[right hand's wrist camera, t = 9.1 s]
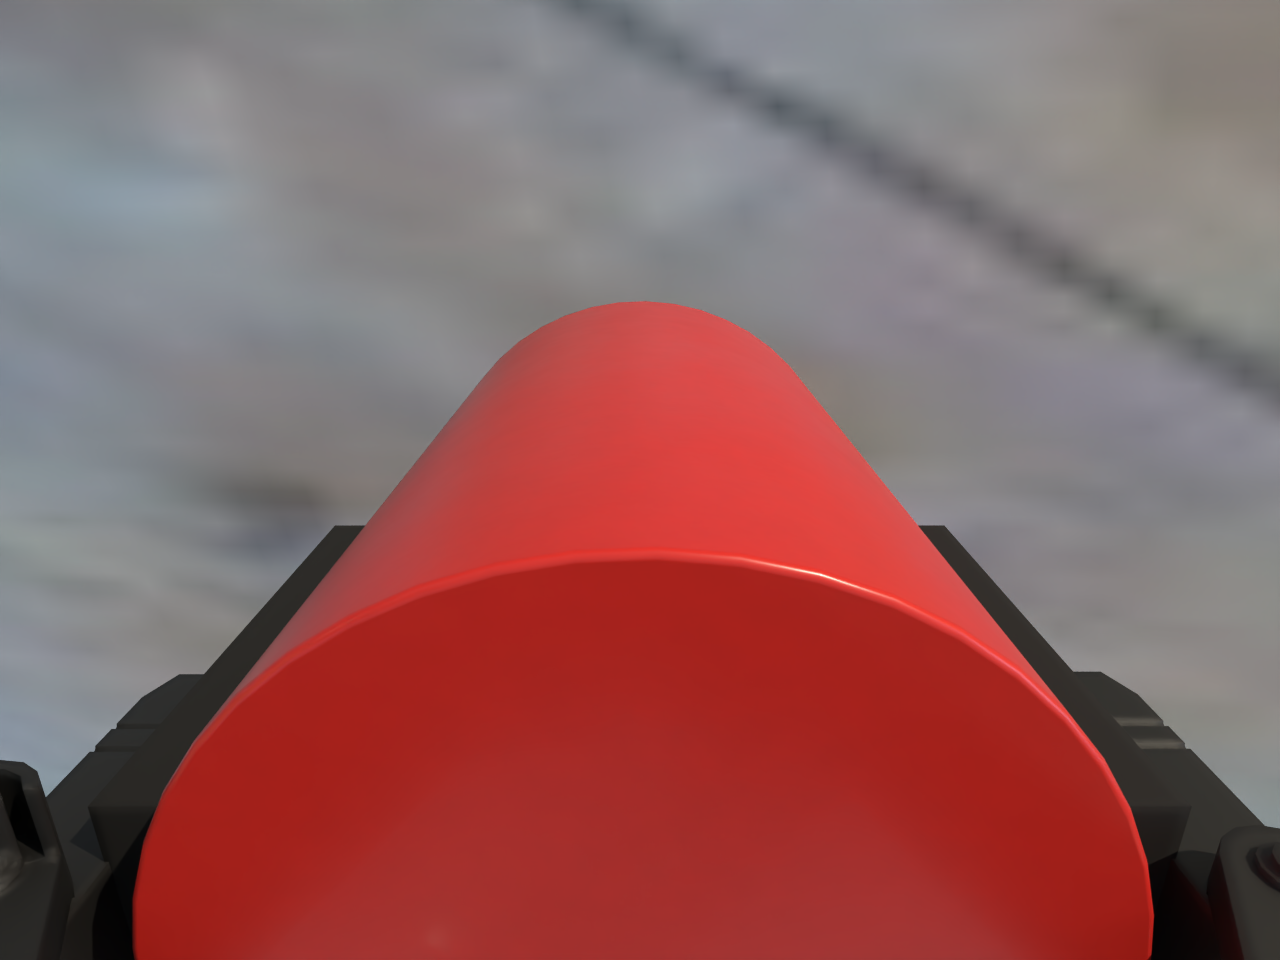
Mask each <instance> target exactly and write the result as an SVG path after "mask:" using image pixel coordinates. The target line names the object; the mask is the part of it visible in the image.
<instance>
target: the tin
mask: <svg viewBox="0 0 1280 960" xmlns="http://www.w3.org/2000/svg"><path fill="white" fill-rule="evenodd" d="M1153 923H1154V912H1153V904H1152V896H1151V887H1150V879H1149V870H1148V863H1147V859H1146V855H1145V852H1144V849H1143V846H1142V843H1141V839H1140V836H1139V833H1138V830H1137V827H1136V824H1135V820H1134V817H1133V814H1132V811H1131V808H1130V806H1129V804H1128V802H1127V800H1126V799H1125V797H1124V795H1123V793H1122V791H1121V789H1120V787H1119V785H1118V783H1117V782H1116V780H1115V778H1114V776H1113V774H1112V772H1111V770H1110V768H1109V767H1108V765H1107V763H1106V761H1105V759H1104V757H1103V756H1102V755H1101V754H1100V752H1099V751H1098V750H1097V748H1096V747H1095V746H1094V745H1093V743H1092V742H1091V741H1090V739H1089V738H1088V737H1087V736H1086V734H1085V733H1084V732H1083V730H1082V729H1081V728H1080V727H1079V725H1078V724H1077V723H1076V721H1075V720H1074V719H1073V718H1072V716H1071V715H1070V714H1069V712H1068V711H1067V710H1066V709H1065V707H1064V706H1063V705H1062V704H1061V702H1060V701H1059V700H1058V699H1057V697H1056V696H1055V695H1054V694H1053V693H1052V691H1051V690H1050V689H1049V688H1048V686H1047V685H1046V684H1045V683H1044V681H1043V680H1042V679H1041V678H1040V676H1039V675H1038V674H1037V673H1036V671H1035V670H1034V669H1033V668H1032V666H1031V665H1030V664H1029V663H1028V662H1027V660H1026V659H1025V658H1024V657H1023V655H1022V654H1021V653H1020V652H1019V650H1018V649H1017V648H1016V647H1015V645H1014V644H1013V643H1012V642H1011V640H1010V639H1009V638H1008V637H1007V635H1006V634H1005V633H1004V632H1003V631H1002V629H1001V628H1000V627H999V626H998V624H997V623H996V622H995V621H994V619H993V618H992V617H991V616H990V614H989V613H988V612H987V611H986V609H985V608H984V607H983V606H982V604H981V603H980V602H979V601H978V600H977V598H976V597H975V596H974V595H973V593H972V592H971V591H970V590H969V588H968V587H967V586H966V585H965V583H964V582H963V581H962V580H961V578H960V577H959V576H958V575H957V573H956V572H955V571H954V570H953V569H952V567H951V566H950V565H949V564H948V562H947V561H946V560H945V559H944V557H943V556H942V555H941V554H940V552H939V551H938V550H937V549H936V547H935V546H934V545H933V544H932V542H931V541H930V540H929V539H928V538H927V536H926V535H925V534H924V533H923V531H922V530H921V529H920V528H919V526H918V525H917V524H916V523H915V521H914V520H913V519H912V518H911V516H910V515H909V514H908V513H907V511H906V510H905V509H904V508H903V507H902V505H901V504H900V503H899V502H898V500H897V499H896V498H895V497H894V495H893V494H892V493H891V492H890V490H889V489H888V488H887V487H886V485H885V484H884V483H883V482H882V480H881V479H880V478H879V477H878V476H877V474H876V473H875V472H874V471H873V469H872V468H871V467H870V466H869V464H868V463H867V462H866V461H865V459H864V458H863V457H862V456H861V454H860V453H859V452H858V451H857V449H856V448H855V447H854V446H853V444H852V443H851V442H850V441H849V440H848V438H847V437H846V436H845V435H844V433H843V432H842V431H841V430H840V428H839V427H838V426H837V425H836V423H835V422H834V421H833V420H832V418H831V417H830V416H829V415H828V413H827V412H826V411H825V410H824V409H823V407H822V406H821V405H820V404H819V402H818V401H817V400H816V399H815V397H814V396H813V395H812V394H811V392H810V391H809V390H808V389H807V387H806V386H805V385H804V384H803V382H802V381H801V380H800V379H799V378H798V376H797V375H796V374H795V373H794V371H793V370H792V369H791V368H790V366H789V365H788V364H787V363H786V362H785V361H784V360H783V359H782V358H780V357H779V356H778V355H777V354H776V353H775V352H774V351H773V350H772V349H771V348H770V347H769V346H767V345H766V344H765V343H763V342H762V341H760V340H759V339H758V338H756V337H755V336H754V335H752V334H751V333H749V332H748V331H746V330H744V329H742V328H740V327H739V326H737V325H735V324H733V323H731V322H729V321H727V320H725V319H723V318H720V317H717V316H715V315H712V314H709V313H707V312H704V311H701V310H698V309H694V308H689V307H685V306H680V305H676V304H669V303H658V302H647V301H644V302H621V303H613V304H608V305H602V306H596V307H591V308H588V309H585V310H582V311H579V312H575V313H572V314H569V315H566V316H564V317H562V318H560V319H558V320H555V321H553V322H551V323H549V324H547V325H545V326H543V327H541V328H539V329H538V330H536V331H535V332H533V333H532V334H530V335H529V336H527V337H526V338H524V339H523V340H521V341H519V342H518V343H517V344H516V345H515V346H514V347H513V348H511V349H510V350H509V351H508V352H507V353H506V354H505V355H503V356H502V357H501V358H500V359H499V360H498V361H497V362H496V363H495V365H494V366H493V367H492V368H491V369H490V370H489V372H488V373H487V374H486V375H485V376H484V377H483V378H482V380H481V381H480V382H479V384H478V385H477V386H476V387H475V389H474V390H473V391H472V392H471V394H470V395H469V396H468V397H467V399H466V400H465V401H464V402H463V404H462V405H461V406H460V407H459V409H458V410H457V411H456V412H455V414H454V415H453V416H452V417H451V419H450V420H449V421H448V422H447V424H446V425H445V426H444V427H443V429H442V430H441V431H440V432H439V434H438V435H437V436H436V438H435V439H434V440H433V441H432V443H431V444H430V445H429V446H428V448H427V449H426V450H425V451H424V453H423V454H422V455H421V456H420V458H419V459H418V460H417V461H416V463H415V464H414V465H413V466H412V468H411V469H410V470H409V471H408V473H407V474H406V475H405V476H404V478H403V479H402V480H401V481H400V483H399V484H398V485H397V487H396V488H395V489H394V490H393V492H392V493H391V494H390V495H389V497H388V498H387V499H386V500H385V502H384V503H383V504H382V505H381V507H380V508H379V509H378V510H377V512H376V513H375V514H374V515H373V517H372V518H371V519H370V520H369V522H368V523H367V524H366V525H365V527H364V528H363V529H362V530H361V532H360V533H359V534H358V535H357V537H356V538H355V539H354V541H353V542H352V543H351V544H350V546H349V547H348V548H347V549H346V551H345V552H344V553H343V554H342V556H341V557H340V558H339V559H338V561H337V562H336V563H335V564H334V566H333V567H332V568H331V569H330V571H329V572H328V573H327V574H326V576H325V577H324V578H323V579H322V581H321V582H320V583H319V584H318V586H317V587H316V588H315V589H314V591H313V592H312V593H311V595H310V596H309V597H308V598H307V600H306V601H305V602H304V603H303V605H302V606H301V607H300V608H299V610H298V611H297V612H296V613H295V615H294V616H293V617H292V618H291V620H290V621H289V622H288V623H287V625H286V626H285V627H284V628H283V630H282V631H281V632H280V633H279V635H278V636H277V637H276V638H275V640H274V641H273V642H272V644H271V645H270V646H269V647H268V649H267V650H266V651H265V652H264V654H263V655H262V656H261V657H260V659H259V660H258V661H257V662H256V664H255V665H254V666H253V667H252V669H251V670H250V671H249V672H248V674H247V675H246V676H245V677H244V679H243V680H242V681H241V682H240V684H239V685H238V686H237V687H236V689H235V690H234V691H233V692H232V694H231V695H230V696H229V698H228V699H227V700H226V701H225V703H224V704H223V705H222V706H221V708H220V709H219V710H218V711H217V713H216V714H215V715H214V716H213V718H212V719H211V720H210V721H209V723H208V724H207V725H206V726H205V728H204V729H203V730H202V731H201V733H200V734H199V735H198V736H197V738H196V739H195V740H194V742H193V743H192V745H191V746H190V748H189V750H188V751H187V753H186V755H185V756H184V758H183V759H182V761H181V763H180V764H179V766H178V768H177V769H176V771H175V772H174V774H173V776H172V777H171V779H170V781H169V782H168V784H167V785H166V787H165V789H164V790H163V793H162V795H161V798H160V800H159V803H158V805H157V808H156V811H155V813H154V816H153V818H152V821H151V823H150V826H149V828H148V831H147V833H146V836H145V839H144V841H143V846H142V852H141V857H140V862H139V867H138V872H137V878H136V883H135V888H134V893H133V945H132V948H133V954H134V959H135V960H1151V953H1152V938H1153Z"/></svg>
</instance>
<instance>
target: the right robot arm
mask: <svg viewBox="0 0 1280 960" xmlns="http://www.w3.org/2000/svg"><path fill="white" fill-rule="evenodd" d="M364 527H365V526H334V528H333V529H332V530H331V531H330V532H329V533H328V534H327V535H326V537H325V538H324V539H323V540H322V541H321V542H320V543H319V545H318V546H317V547H316V548H315V549H314V550H313V551H312V552H311V554H310V555H309V556H308V557H307V558H306V559H305V560H304V562H303V563H302V564H301V565H300V566H299V567H298V568H297V569H296V571H295V572H294V573H293V574H292V575H291V576H290V577H289V579H288V580H287V581H286V582H285V583H284V584H283V585H282V586H281V588H280V589H279V590H278V591H277V592H276V593H275V594H274V596H273V597H272V598H271V599H270V600H269V601H268V602H267V604H266V605H265V606H264V607H263V608H262V609H261V610H260V611H259V613H258V614H257V615H256V616H255V617H254V618H253V619H252V621H251V622H250V623H249V624H248V625H247V626H246V627H245V628H244V630H243V631H242V632H241V633H240V634H239V635H238V636H237V638H236V639H235V640H234V641H233V642H232V643H231V644H230V645H229V647H228V648H227V649H226V650H225V651H224V652H223V653H222V655H221V656H220V657H219V658H218V659H217V660H216V661H215V662H214V664H213V665H212V666H211V667H210V668H209V669H208V670H207V672H206V673H205V674H179V675H178V676H176V677H174V678H173V679H171V680H170V681H168V682H166V683H165V684H163V685H161V686H160V687H158V688H157V689H155V690H153V691H152V692H150V693H148V694H147V695H145V696H144V697H142V698H141V699H140V700H139V701H138V702H137V703H136V704H135V705H134V706H133V708H132V709H131V710H130V711H129V712H128V713H127V714H126V715H125V716H124V717H123V718H122V719H121V720H120V721H119V722H118V723H117V728H116V729H111V730H110V731H109V732H108V734H107V735H106V736H105V737H104V738H103V739H102V740H101V741H100V742H99V743H98V744H97V745H96V746H95V747H96V748H95V751H94V752H89V753H88V754H87V755H86V756H85V757H84V758H83V760H82V761H81V762H80V763H79V764H78V765H77V766H76V767H75V768H74V769H73V770H72V771H71V772H70V773H69V774H68V775H67V776H66V777H65V778H64V779H63V780H62V781H61V782H60V783H59V784H58V785H57V787H56V788H55V789H54V790H53V791H52V792H51V793H50V794H49V795H48V796H47V797H45V794H44V791H43V788H42V785H41V782H40V778H39V775H38V772H37V771H36V770H34V769H33V768H31V767H30V766H28V765H27V764H25V763H24V762H15V761H5V760H0V960H135V959H134V954H133V948H132V945H133V893H134V888H135V883H136V878H137V872H138V867H139V862H140V857H141V852H142V846H143V841H144V839H145V836H146V833H147V831H148V828H149V826H150V823H151V821H152V818H153V816H154V813H155V811H156V808H157V805H158V803H159V800H160V798H161V795H162V793H163V790H164V789H165V787H166V785H167V784H168V782H169V781H170V779H171V777H172V776H173V774H174V772H175V771H176V769H177V768H178V766H179V764H180V763H181V761H182V759H183V758H184V756H185V755H186V753H187V751H188V750H189V748H190V746H191V745H192V743H193V742H194V740H195V739H196V738H197V736H198V735H199V734H200V733H201V731H202V730H203V729H204V728H205V726H206V725H207V724H208V723H209V721H210V720H211V719H212V718H213V716H214V715H215V714H216V713H217V711H218V710H219V709H220V708H221V706H222V705H223V704H224V703H225V701H226V700H227V699H228V698H229V696H230V695H231V694H232V692H233V691H234V690H235V689H236V687H237V686H238V685H239V684H240V682H241V681H242V680H243V679H244V677H245V676H246V675H247V674H248V672H249V671H250V670H251V669H252V667H253V666H254V665H255V664H256V662H257V661H258V660H259V659H260V657H261V656H262V655H263V654H264V652H265V651H266V650H267V649H268V647H269V646H270V645H271V644H272V642H273V641H274V640H275V638H276V637H277V636H278V635H279V633H280V632H281V631H282V630H283V628H284V627H285V626H286V625H287V623H288V622H289V621H290V620H291V618H292V617H293V616H294V615H295V613H296V612H297V611H298V610H299V608H300V607H301V606H302V605H303V603H304V602H305V601H306V600H307V598H308V597H309V596H310V595H311V593H312V592H313V591H314V589H315V588H316V587H317V586H318V584H319V583H320V582H321V581H322V579H323V578H324V577H325V576H326V574H327V573H328V572H329V571H330V569H331V568H332V567H333V566H334V564H335V563H336V562H337V561H338V559H339V558H340V557H341V556H342V554H343V553H344V552H345V551H346V549H347V548H348V547H349V546H350V544H351V543H352V542H353V541H354V539H355V538H356V537H357V535H358V534H359V533H360V532H361V530H362V529H363V528H364ZM919 528H920V529H921V530H922V531H923V533H924V534H925V535H926V536H927V538H928V539H929V540H930V541H931V542H932V544H933V545H934V546H935V547H936V549H937V550H938V551H939V552H940V554H941V555H942V556H943V557H944V559H945V560H946V561H947V562H948V564H949V565H950V566H951V567H952V569H953V570H954V571H955V572H956V573H957V575H958V576H959V577H960V578H961V580H962V581H963V582H964V583H965V585H966V586H967V587H968V588H969V590H970V591H971V592H972V593H973V595H974V596H975V597H976V598H977V600H978V601H979V602H980V603H981V604H982V606H983V607H984V608H985V609H986V611H987V612H988V613H989V614H990V616H991V617H992V618H993V619H994V621H995V622H996V623H997V624H998V626H999V627H1000V628H1001V629H1002V631H1003V632H1004V633H1005V634H1006V635H1007V637H1008V638H1009V639H1010V640H1011V642H1012V643H1013V644H1014V645H1015V647H1016V648H1017V649H1018V650H1019V652H1020V653H1021V654H1022V655H1023V657H1024V658H1025V659H1026V660H1027V662H1028V663H1029V664H1030V665H1031V666H1032V668H1033V669H1034V670H1035V671H1036V673H1037V674H1038V675H1039V676H1040V678H1041V679H1042V680H1043V681H1044V683H1045V684H1046V685H1047V686H1048V688H1049V689H1050V690H1051V691H1052V693H1053V694H1054V695H1055V696H1056V697H1057V699H1058V700H1059V701H1060V702H1061V704H1062V705H1063V706H1064V707H1065V709H1066V710H1067V711H1068V712H1069V714H1070V715H1071V716H1072V718H1073V719H1074V720H1075V721H1076V723H1077V724H1078V725H1079V727H1080V728H1081V729H1082V730H1083V732H1084V733H1085V734H1086V736H1087V737H1088V738H1089V739H1090V741H1091V742H1092V743H1093V745H1094V746H1095V747H1096V748H1097V750H1098V751H1099V752H1100V754H1101V755H1102V756H1103V757H1104V759H1105V761H1106V763H1107V765H1108V767H1109V768H1110V770H1111V772H1112V774H1113V776H1114V778H1115V780H1116V782H1117V783H1118V785H1119V787H1120V789H1121V791H1122V793H1123V795H1124V797H1125V799H1126V800H1127V802H1128V804H1129V806H1130V808H1131V811H1132V814H1133V817H1134V820H1135V824H1136V827H1137V830H1138V833H1139V836H1140V839H1141V843H1142V846H1143V849H1144V852H1145V855H1146V859H1147V863H1148V870H1149V879H1150V887H1151V896H1152V904H1153V912H1154V923H1153V938H1152V953H1151V960H1280V829H1279V828H1273V827H1267V826H1264V825H1263V823H1262V822H1261V821H1260V820H1259V819H1258V818H1257V817H1256V816H1255V815H1254V814H1253V813H1252V812H1251V811H1250V810H1249V809H1248V808H1247V807H1246V806H1245V805H1244V804H1243V803H1242V802H1241V801H1240V800H1239V799H1238V798H1237V797H1236V796H1235V795H1234V794H1233V792H1232V791H1231V790H1230V789H1229V788H1228V787H1227V786H1226V785H1225V784H1224V783H1223V782H1222V781H1221V780H1220V779H1219V778H1218V777H1217V776H1216V775H1215V774H1214V773H1213V772H1212V771H1211V770H1210V769H1209V768H1208V767H1207V766H1206V765H1205V764H1204V763H1203V761H1202V760H1201V759H1200V758H1199V757H1198V756H1197V755H1196V754H1195V753H1194V752H1193V751H1192V750H1191V749H1186V748H1185V743H1184V742H1183V741H1182V740H1181V739H1180V738H1179V737H1178V736H1177V735H1176V734H1175V733H1174V732H1173V731H1172V729H1171V728H1170V727H1169V726H1164V724H1163V720H1162V719H1161V718H1160V717H1159V716H1158V715H1157V714H1156V713H1155V712H1154V711H1153V710H1152V709H1151V708H1150V707H1149V706H1148V705H1147V704H1146V703H1145V702H1144V701H1143V700H1142V698H1141V697H1140V696H1139V695H1138V694H1136V693H1134V692H1133V691H1131V690H1130V689H1128V688H1126V687H1125V686H1123V685H1121V684H1120V683H1118V682H1116V681H1115V680H1113V679H1112V678H1110V677H1108V676H1107V675H1105V674H1103V673H1102V672H1073V671H1072V670H1071V669H1070V668H1069V667H1068V665H1067V664H1066V663H1065V662H1064V661H1063V660H1062V659H1061V657H1060V656H1059V655H1058V654H1057V653H1056V652H1055V651H1054V650H1053V648H1052V647H1051V646H1050V645H1049V644H1048V643H1047V642H1046V640H1045V639H1044V638H1043V637H1042V636H1041V635H1040V634H1039V633H1038V631H1037V630H1036V629H1035V628H1034V627H1033V626H1032V625H1031V623H1030V622H1029V621H1028V620H1027V619H1026V618H1025V617H1024V615H1023V614H1022V613H1021V612H1020V611H1019V610H1018V609H1017V608H1016V606H1015V605H1014V604H1013V603H1012V602H1011V601H1010V600H1009V598H1008V597H1007V596H1006V595H1005V594H1004V593H1003V592H1002V591H1001V589H1000V588H999V587H998V586H997V585H996V584H995V583H994V581H993V580H992V579H991V578H990V577H989V576H988V575H987V574H986V572H985V571H984V570H983V569H982V568H981V567H980V566H979V564H978V563H977V562H976V561H975V560H974V559H973V558H972V556H971V555H970V554H969V553H968V552H967V551H966V550H965V549H964V547H963V546H962V545H961V544H960V543H959V542H958V541H957V539H956V538H955V537H954V536H953V535H952V534H951V533H950V532H949V530H948V529H947V528H946V527H945V526H919Z"/></svg>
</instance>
